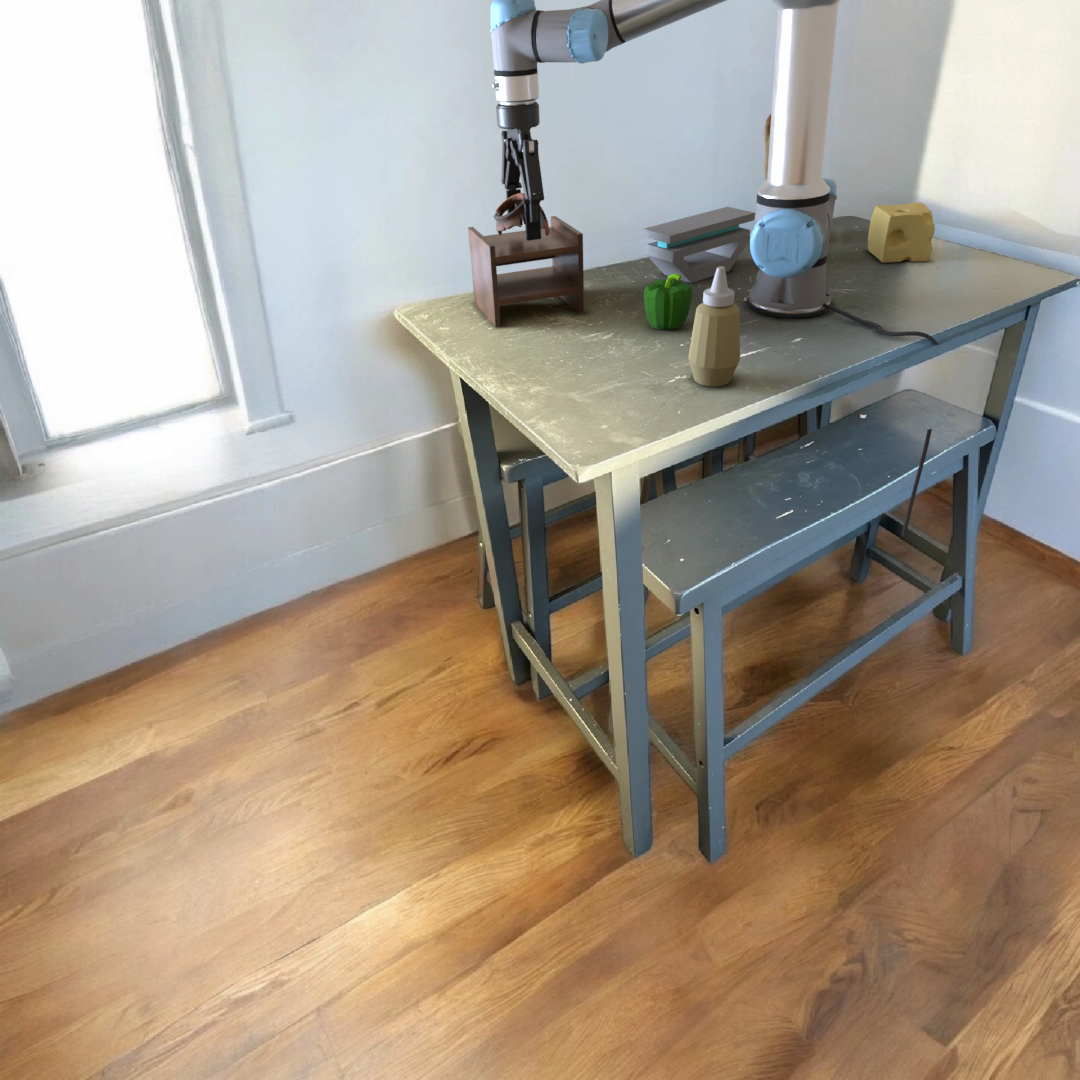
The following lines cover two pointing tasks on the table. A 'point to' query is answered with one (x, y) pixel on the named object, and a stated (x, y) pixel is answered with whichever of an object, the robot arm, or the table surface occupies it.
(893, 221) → the cheese
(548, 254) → the shelf
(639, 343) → the table surface
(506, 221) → the pottery mug
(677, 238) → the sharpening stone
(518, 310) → the table surface
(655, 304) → the bell pepper
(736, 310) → the squeeze bottle
